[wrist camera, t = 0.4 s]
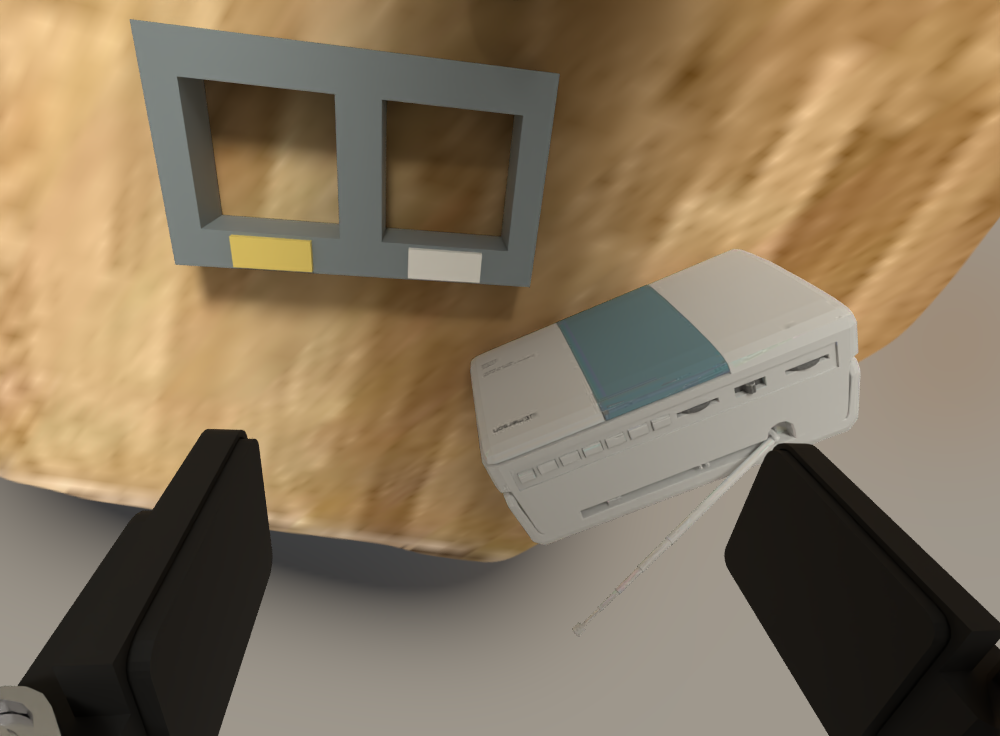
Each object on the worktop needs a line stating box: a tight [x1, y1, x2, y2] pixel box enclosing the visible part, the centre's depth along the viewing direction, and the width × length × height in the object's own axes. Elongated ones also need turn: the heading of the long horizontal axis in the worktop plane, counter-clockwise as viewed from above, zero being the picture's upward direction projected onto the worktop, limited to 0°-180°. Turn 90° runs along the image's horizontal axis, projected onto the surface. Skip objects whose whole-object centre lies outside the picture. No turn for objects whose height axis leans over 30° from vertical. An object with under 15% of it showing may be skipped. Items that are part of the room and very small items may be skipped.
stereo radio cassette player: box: [470, 249, 860, 637], centre depth 32 cm, size 21×8×20 cm, turn 112°
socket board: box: [130, 19, 560, 287], centre depth 31 cm, size 12×21×4 cm, turn 84°
